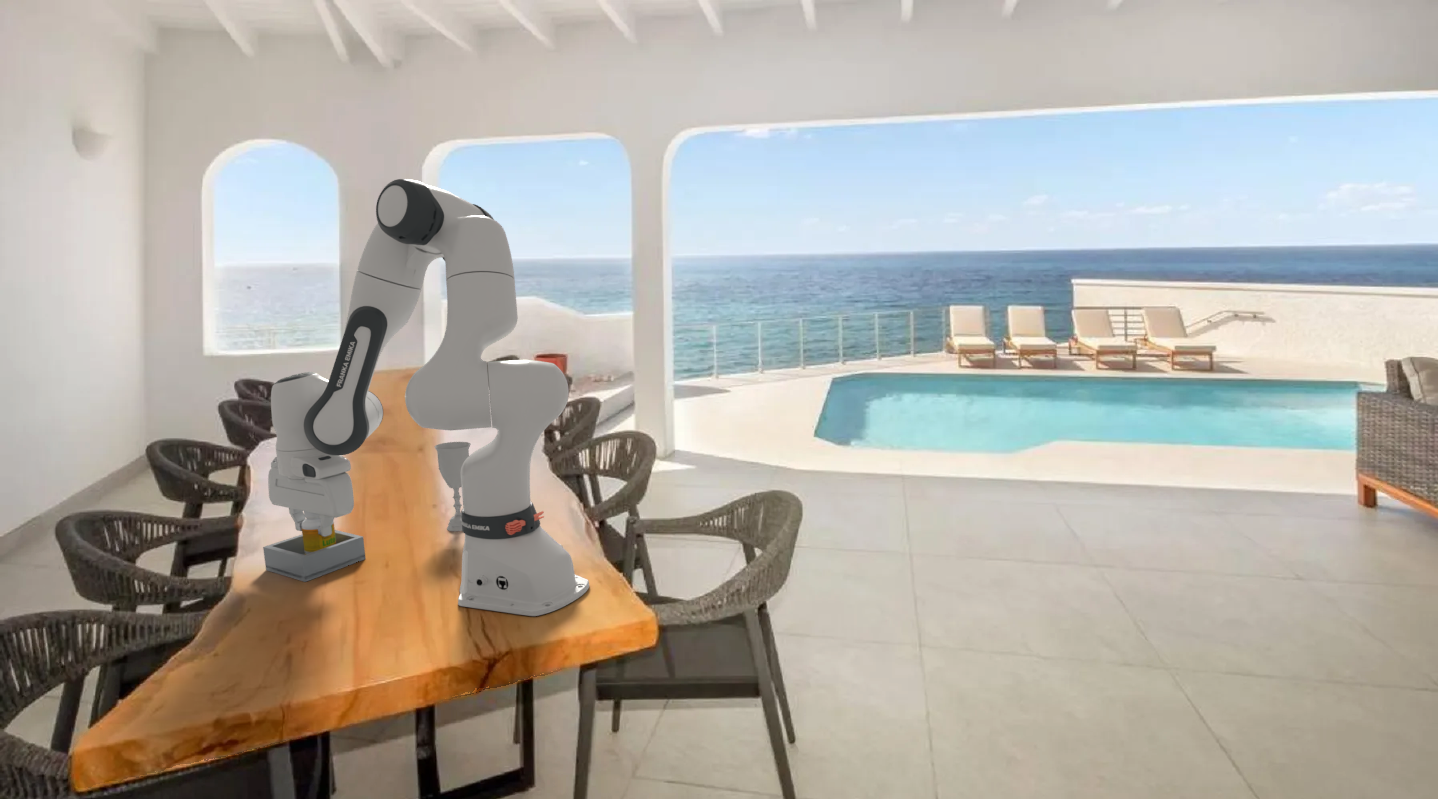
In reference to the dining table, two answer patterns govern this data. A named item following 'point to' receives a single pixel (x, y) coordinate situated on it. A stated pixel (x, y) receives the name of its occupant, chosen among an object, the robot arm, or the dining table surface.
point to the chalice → (453, 474)
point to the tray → (313, 556)
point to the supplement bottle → (315, 534)
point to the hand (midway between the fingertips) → (314, 532)
